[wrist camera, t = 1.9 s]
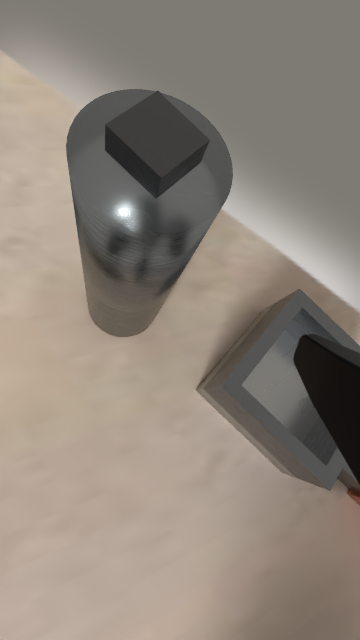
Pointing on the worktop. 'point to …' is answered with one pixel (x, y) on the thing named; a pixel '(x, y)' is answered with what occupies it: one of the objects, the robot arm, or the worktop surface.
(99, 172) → the cylinder with cube top
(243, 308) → the worktop surface
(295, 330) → the saucepan
